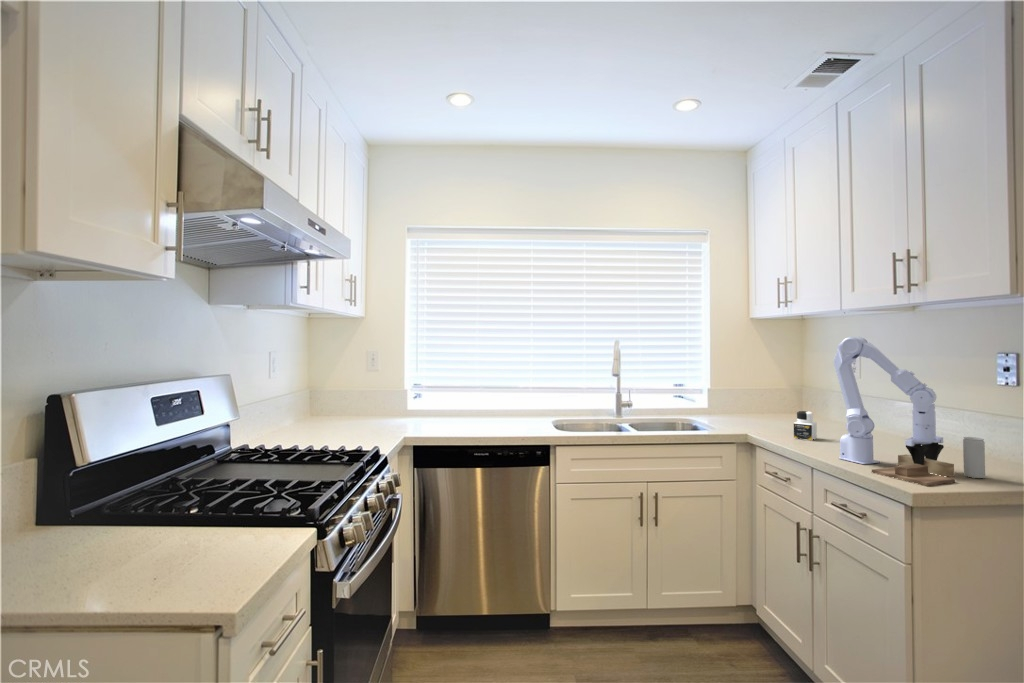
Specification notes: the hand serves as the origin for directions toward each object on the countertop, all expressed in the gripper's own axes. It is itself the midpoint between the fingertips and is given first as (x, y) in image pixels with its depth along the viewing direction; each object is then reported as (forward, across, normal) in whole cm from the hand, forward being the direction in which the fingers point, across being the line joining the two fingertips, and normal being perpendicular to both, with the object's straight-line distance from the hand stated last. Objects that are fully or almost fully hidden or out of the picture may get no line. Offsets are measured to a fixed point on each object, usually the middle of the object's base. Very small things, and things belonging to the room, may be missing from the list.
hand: (924, 466), depth 157 cm
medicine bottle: (+2, +10, +54) cm, 55 cm away
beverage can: (+2, +6, -10) cm, 12 cm away
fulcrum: (+1, -12, -4) cm, 13 cm away
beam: (+2, 0, 0) cm, 2 cm away
